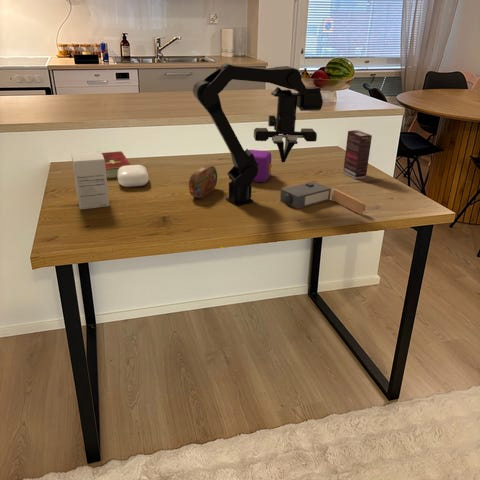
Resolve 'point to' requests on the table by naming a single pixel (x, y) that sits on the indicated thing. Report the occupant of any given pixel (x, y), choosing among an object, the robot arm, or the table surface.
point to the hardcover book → (114, 162)
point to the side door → (348, 201)
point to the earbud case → (132, 175)
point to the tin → (203, 181)
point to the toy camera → (262, 164)
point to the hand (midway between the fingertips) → (283, 161)
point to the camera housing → (305, 194)
